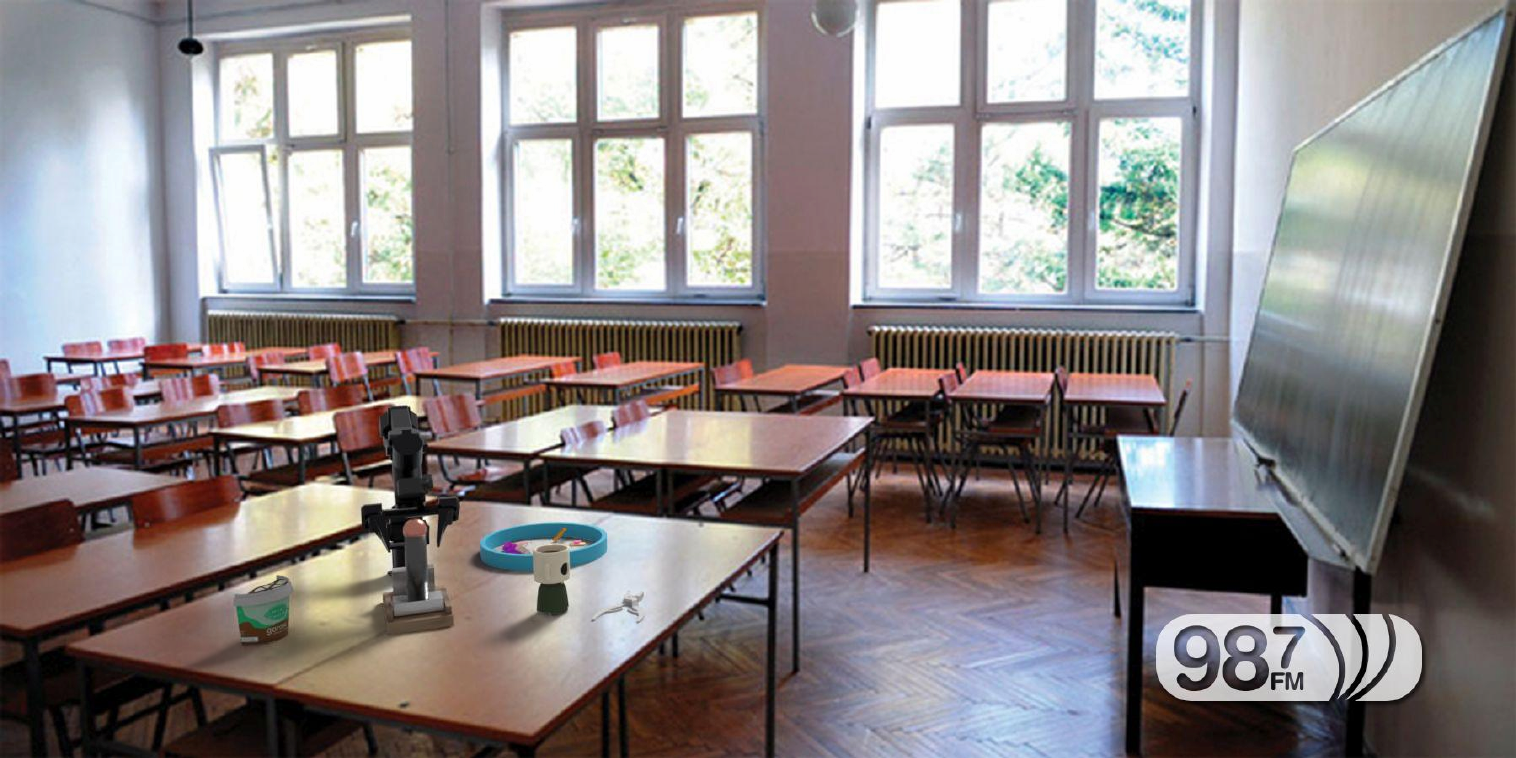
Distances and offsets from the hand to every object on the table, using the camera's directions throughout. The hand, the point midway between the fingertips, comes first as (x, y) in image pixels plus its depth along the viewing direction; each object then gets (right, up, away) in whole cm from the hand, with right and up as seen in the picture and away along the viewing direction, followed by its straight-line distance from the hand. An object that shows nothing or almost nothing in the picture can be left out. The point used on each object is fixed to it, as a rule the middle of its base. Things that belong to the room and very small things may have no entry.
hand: (414, 548), depth 195 cm
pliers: (+42, -13, +3) cm, 44 cm away
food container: (-22, -15, -12) cm, 29 cm away
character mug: (+27, -13, +1) cm, 30 cm away
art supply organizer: (+16, -9, +44) cm, 47 cm away
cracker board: (0, -13, +1) cm, 13 cm away
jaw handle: (+2, -11, -4) cm, 12 cm away
